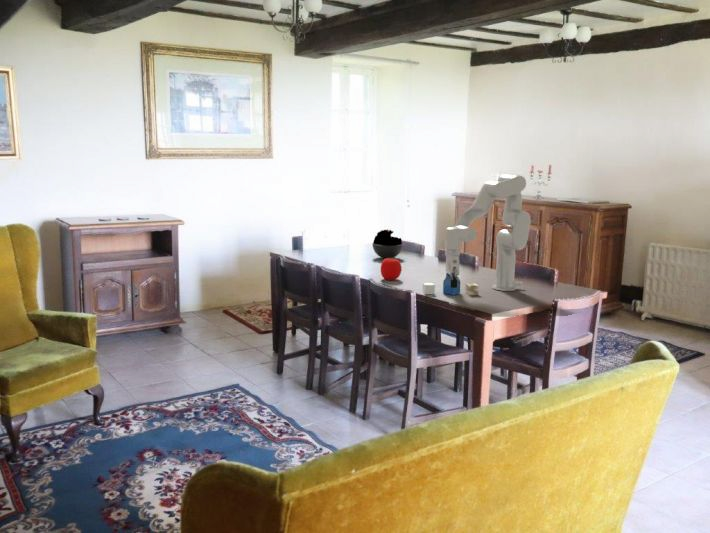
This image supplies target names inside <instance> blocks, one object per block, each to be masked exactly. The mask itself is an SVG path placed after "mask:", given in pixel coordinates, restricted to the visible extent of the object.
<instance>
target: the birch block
mask: <svg viewBox="0 0 710 533" xmlns="http://www.w3.org/2000/svg"><path fill="white" fill-rule="evenodd" d="M466 293H467V294H466ZM465 294H466V295H467V296H479V284H477V283H465Z"/></svg>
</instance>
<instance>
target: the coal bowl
mask: <svg viewBox="0 0 710 533" xmlns="http://www.w3.org/2000/svg"><path fill="white" fill-rule="evenodd" d="M392 234H394V230H392V229H390V230H389V229H383V230H382V229H381V230H379V231H378V232H377V233H376V235H375V236H374V239H373V242H372V243H371V244H372V248H373V251H374V253H375V254H376V255H377V256H378V257H379V258H381V259H383V260H384V259H387V258H390V257H391V258H393V259H395V258H396V257H397V256H399V254H400V253H401V252H402V250H403V247H404V244H403V239H402V238H401V237H397V236H392Z"/></svg>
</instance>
